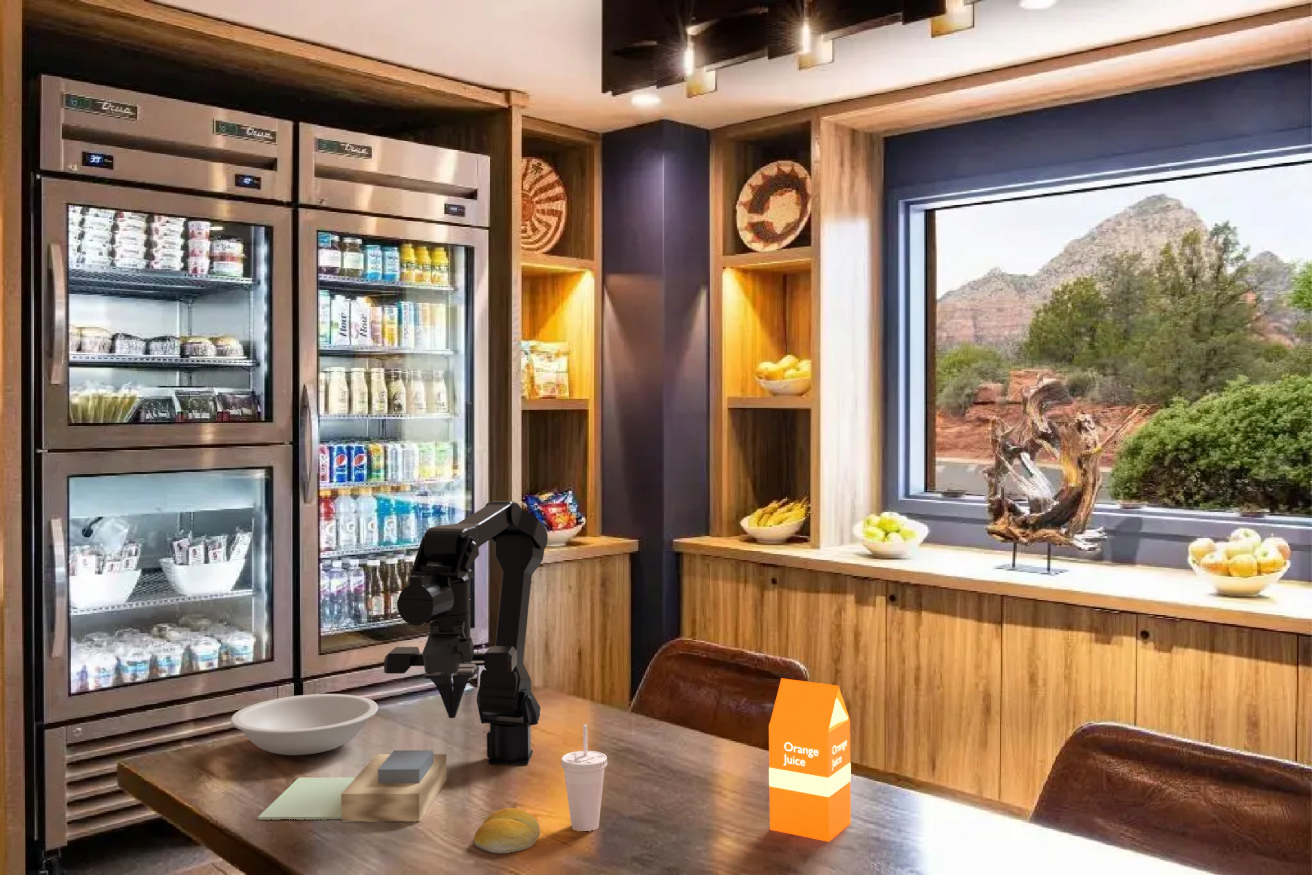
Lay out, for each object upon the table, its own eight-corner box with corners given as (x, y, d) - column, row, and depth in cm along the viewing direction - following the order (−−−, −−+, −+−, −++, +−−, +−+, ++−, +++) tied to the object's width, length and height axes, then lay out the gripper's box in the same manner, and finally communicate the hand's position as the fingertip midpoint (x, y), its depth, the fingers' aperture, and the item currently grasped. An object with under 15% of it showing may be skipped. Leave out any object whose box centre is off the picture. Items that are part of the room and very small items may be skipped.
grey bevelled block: (433, 763, 174) (433, 750, 174) (419, 782, 165) (419, 769, 165) (394, 763, 174) (394, 750, 174) (378, 783, 165) (377, 769, 165)
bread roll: (467, 854, 149) (466, 824, 149) (489, 829, 158) (488, 800, 158) (528, 857, 148) (527, 827, 148) (547, 832, 157) (546, 803, 157)
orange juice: (829, 842, 151) (827, 692, 151) (768, 829, 156) (767, 684, 155) (851, 823, 158) (850, 679, 157) (793, 811, 163) (792, 672, 162)
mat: (374, 779, 179) (374, 777, 179) (341, 819, 162) (341, 816, 162) (298, 779, 179) (298, 777, 179) (258, 819, 162) (258, 816, 162)
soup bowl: (356, 771, 183) (355, 731, 183) (208, 772, 184) (206, 732, 184) (394, 729, 207) (393, 692, 207) (262, 730, 208) (261, 694, 208)
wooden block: (446, 779, 179) (446, 754, 179) (419, 821, 161) (418, 793, 161) (376, 779, 179) (376, 754, 179) (341, 821, 161) (341, 793, 161)
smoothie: (615, 821, 160) (613, 721, 160) (598, 837, 154) (596, 734, 153) (573, 816, 162) (571, 718, 162) (554, 832, 156) (552, 730, 156)
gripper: (372, 623, 161) (374, 733, 162) (504, 622, 160) (506, 733, 161) (393, 609, 172) (395, 712, 173) (516, 608, 172) (518, 711, 172)
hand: (452, 717), depth 169 cm, fingers closed
